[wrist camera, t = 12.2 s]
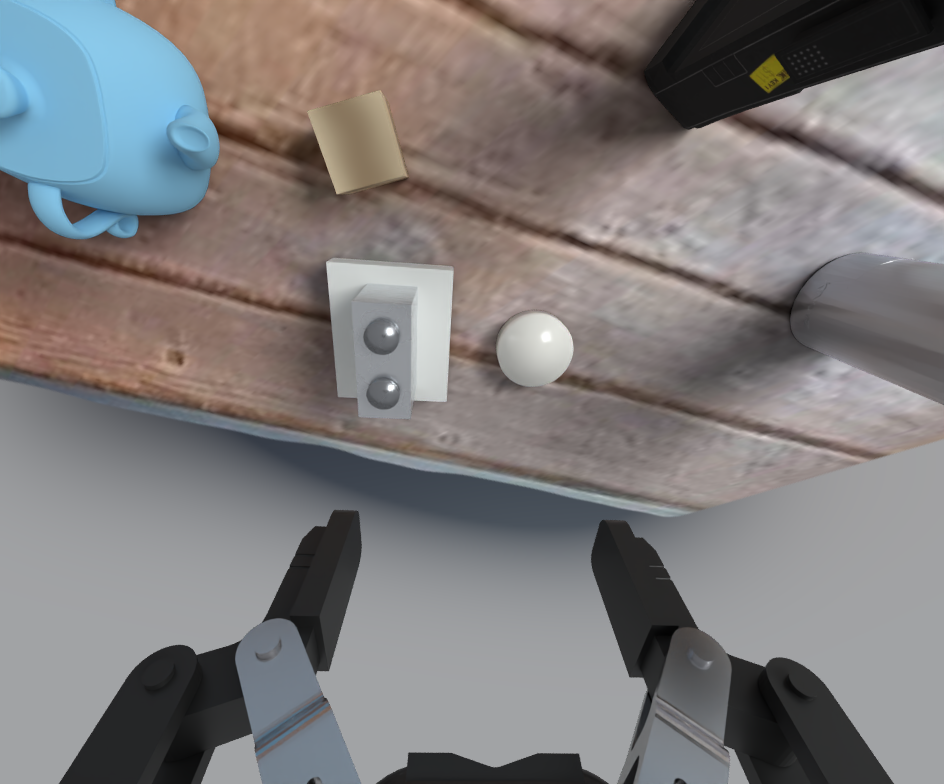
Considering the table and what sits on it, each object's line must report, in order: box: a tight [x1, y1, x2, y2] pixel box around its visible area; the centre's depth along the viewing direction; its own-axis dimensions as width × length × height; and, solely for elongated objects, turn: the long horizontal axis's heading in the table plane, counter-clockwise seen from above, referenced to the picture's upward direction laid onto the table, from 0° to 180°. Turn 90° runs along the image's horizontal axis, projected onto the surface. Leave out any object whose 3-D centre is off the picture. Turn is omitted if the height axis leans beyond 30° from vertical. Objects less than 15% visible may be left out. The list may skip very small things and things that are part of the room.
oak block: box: [307, 90, 409, 194], centre depth 28 cm, size 5×5×4 cm
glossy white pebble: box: [496, 310, 573, 387], centre depth 37 cm, size 7×7×2 cm
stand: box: [326, 258, 453, 402], centre depth 35 cm, size 10×12×3 cm
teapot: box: [0, 0, 219, 239], centre depth 23 cm, size 15×14×11 cm
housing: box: [351, 283, 418, 419], centre depth 31 cm, size 4×9×7 cm, turn 176°
